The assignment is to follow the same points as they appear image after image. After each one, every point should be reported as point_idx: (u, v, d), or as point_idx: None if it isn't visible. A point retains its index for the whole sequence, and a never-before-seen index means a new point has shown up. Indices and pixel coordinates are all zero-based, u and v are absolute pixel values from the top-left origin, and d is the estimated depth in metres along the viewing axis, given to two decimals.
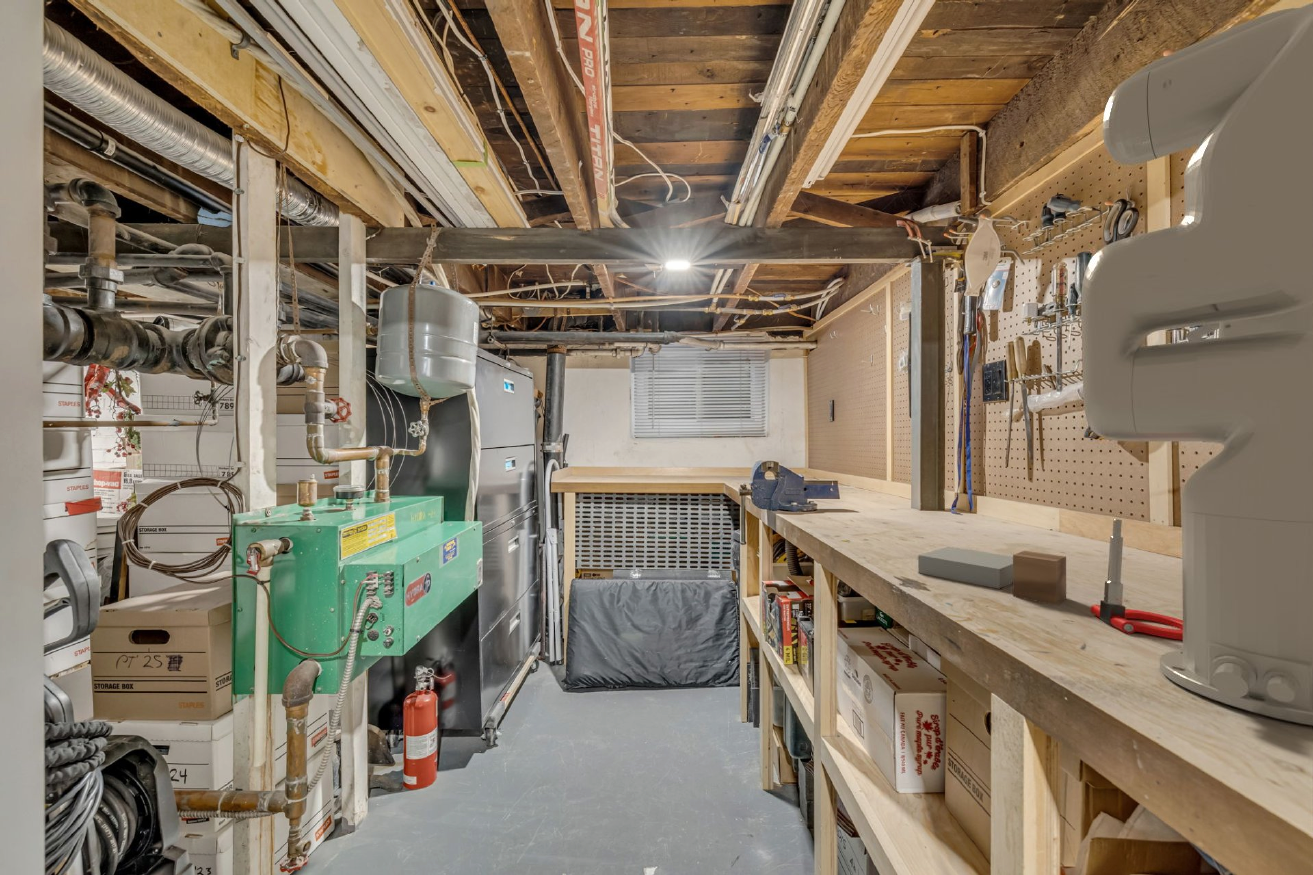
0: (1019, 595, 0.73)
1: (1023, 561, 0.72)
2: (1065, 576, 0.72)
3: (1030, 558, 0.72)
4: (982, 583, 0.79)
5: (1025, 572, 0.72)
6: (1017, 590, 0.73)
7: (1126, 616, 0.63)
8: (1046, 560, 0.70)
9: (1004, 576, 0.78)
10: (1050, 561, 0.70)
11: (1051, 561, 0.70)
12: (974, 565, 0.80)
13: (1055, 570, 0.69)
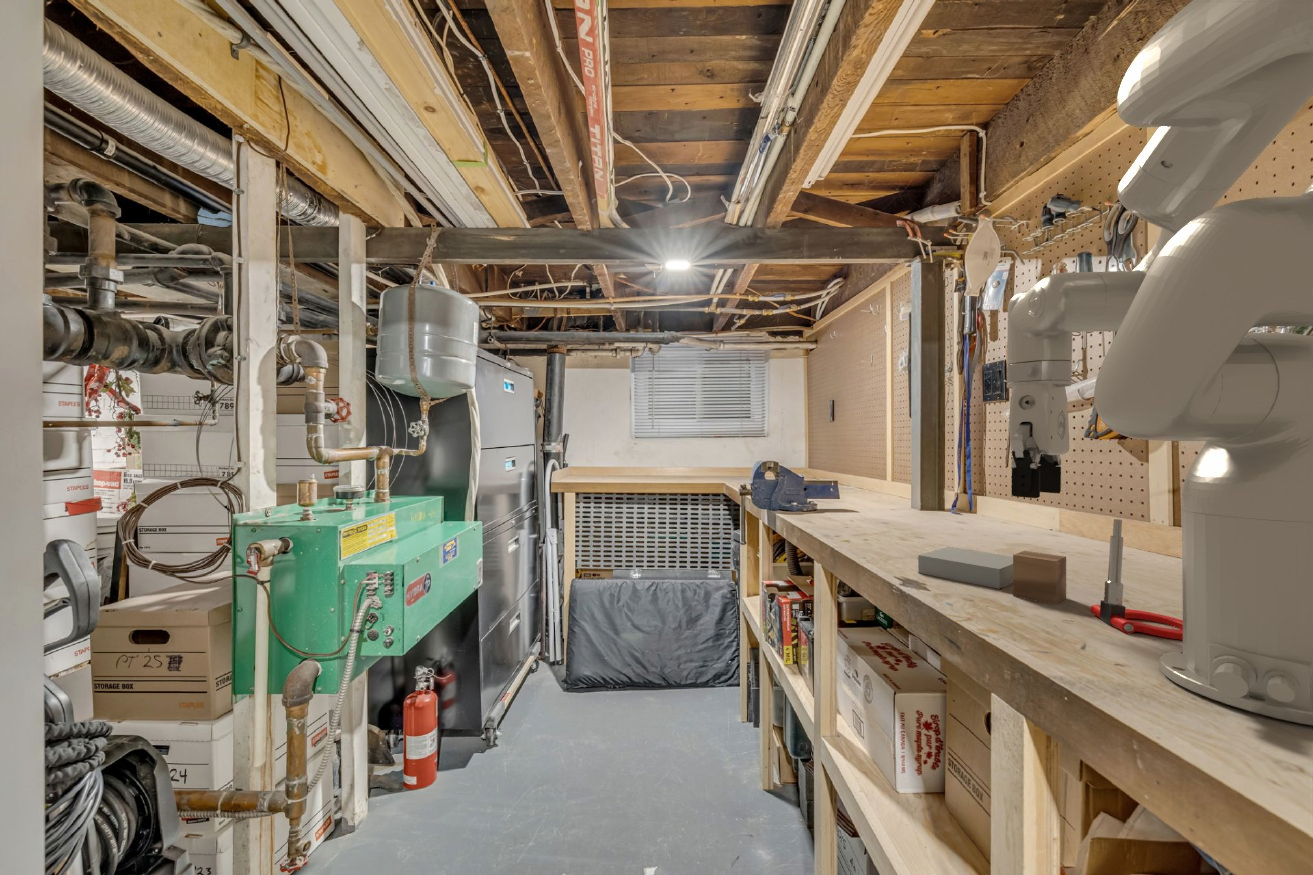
0: (1019, 595, 0.73)
1: (1024, 561, 0.72)
2: (1065, 576, 0.72)
3: (1030, 558, 0.72)
4: (982, 583, 0.79)
5: (1025, 572, 0.72)
6: (1017, 590, 0.73)
7: (1126, 616, 0.63)
8: (1046, 560, 0.70)
9: (1004, 576, 0.78)
10: (1050, 561, 0.70)
11: (1051, 561, 0.70)
12: (974, 565, 0.80)
13: (1056, 570, 0.69)
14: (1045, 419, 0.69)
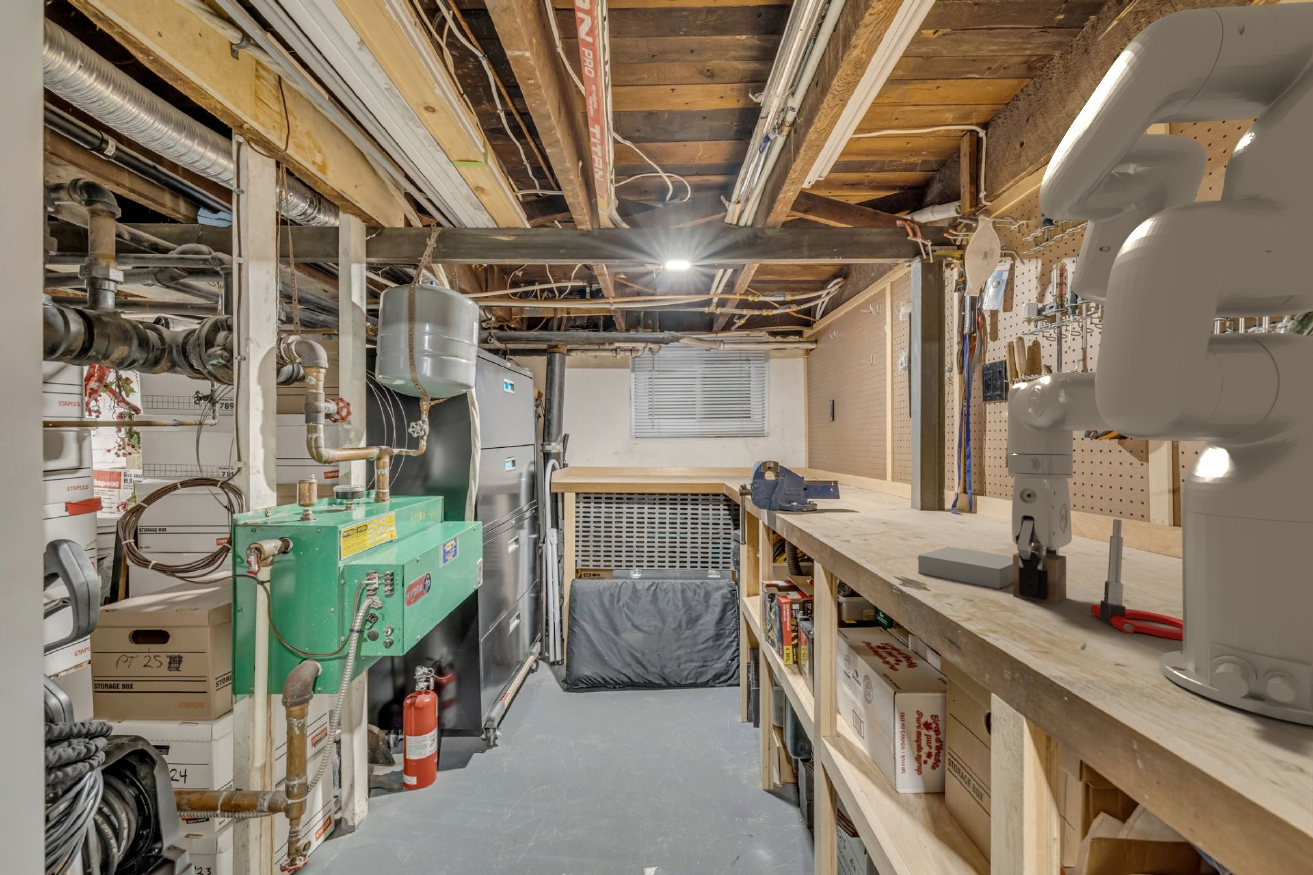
0: (1019, 595, 0.73)
1: None
2: (1065, 576, 0.72)
3: None
4: (982, 583, 0.79)
5: None
6: (1017, 590, 0.73)
7: (1126, 616, 0.63)
8: (1046, 560, 0.70)
9: (1004, 576, 0.78)
10: (1050, 561, 0.70)
11: (1051, 561, 0.70)
12: (974, 565, 0.80)
13: (1055, 569, 0.69)
14: (1047, 515, 0.68)
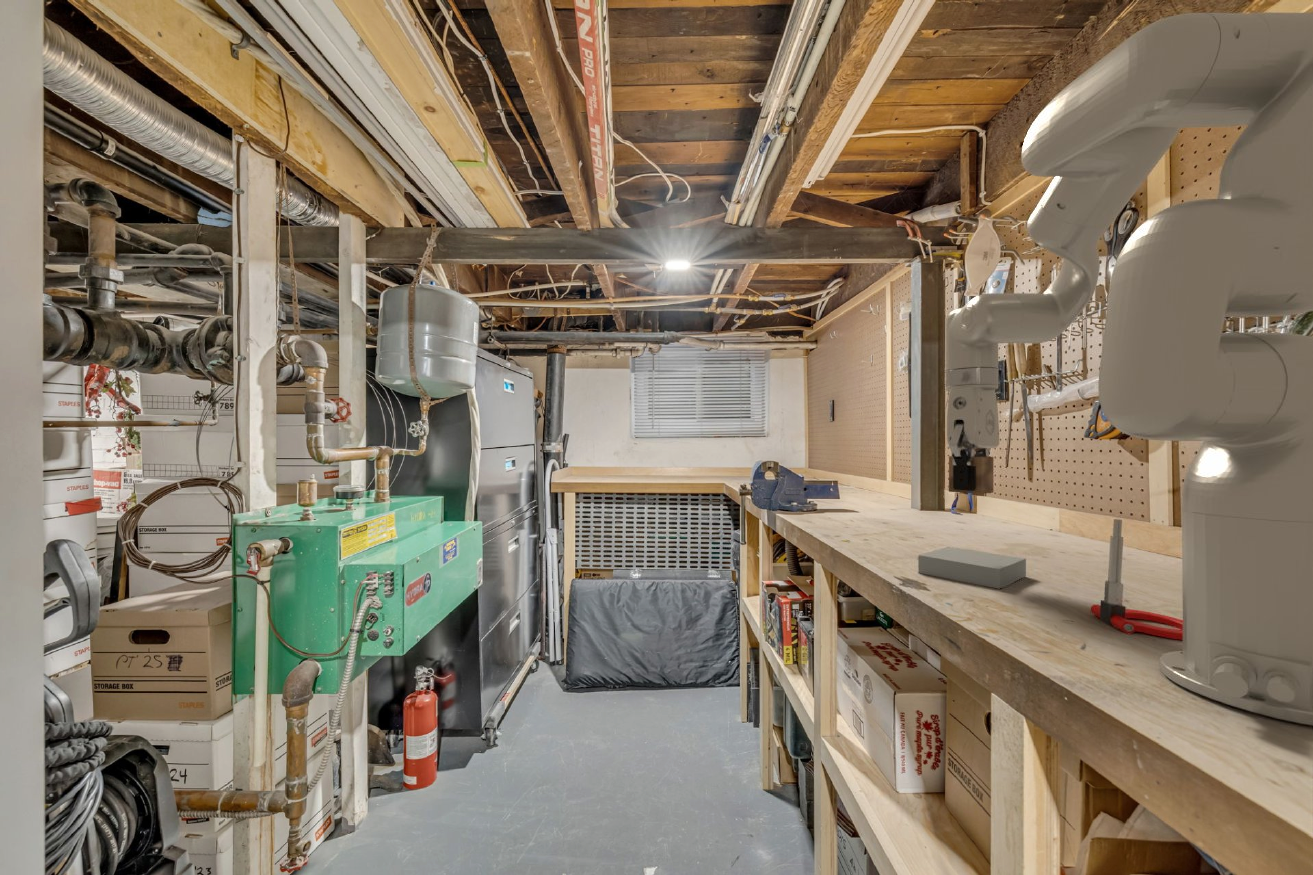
0: (954, 490, 0.85)
1: None
2: (992, 473, 0.85)
3: None
4: (982, 583, 0.79)
5: None
6: (952, 486, 0.86)
7: (1126, 616, 0.63)
8: (974, 457, 0.83)
9: (1004, 576, 0.78)
10: (977, 457, 0.83)
11: (978, 457, 0.82)
12: (974, 565, 0.80)
13: (982, 464, 0.82)
14: (974, 417, 0.81)
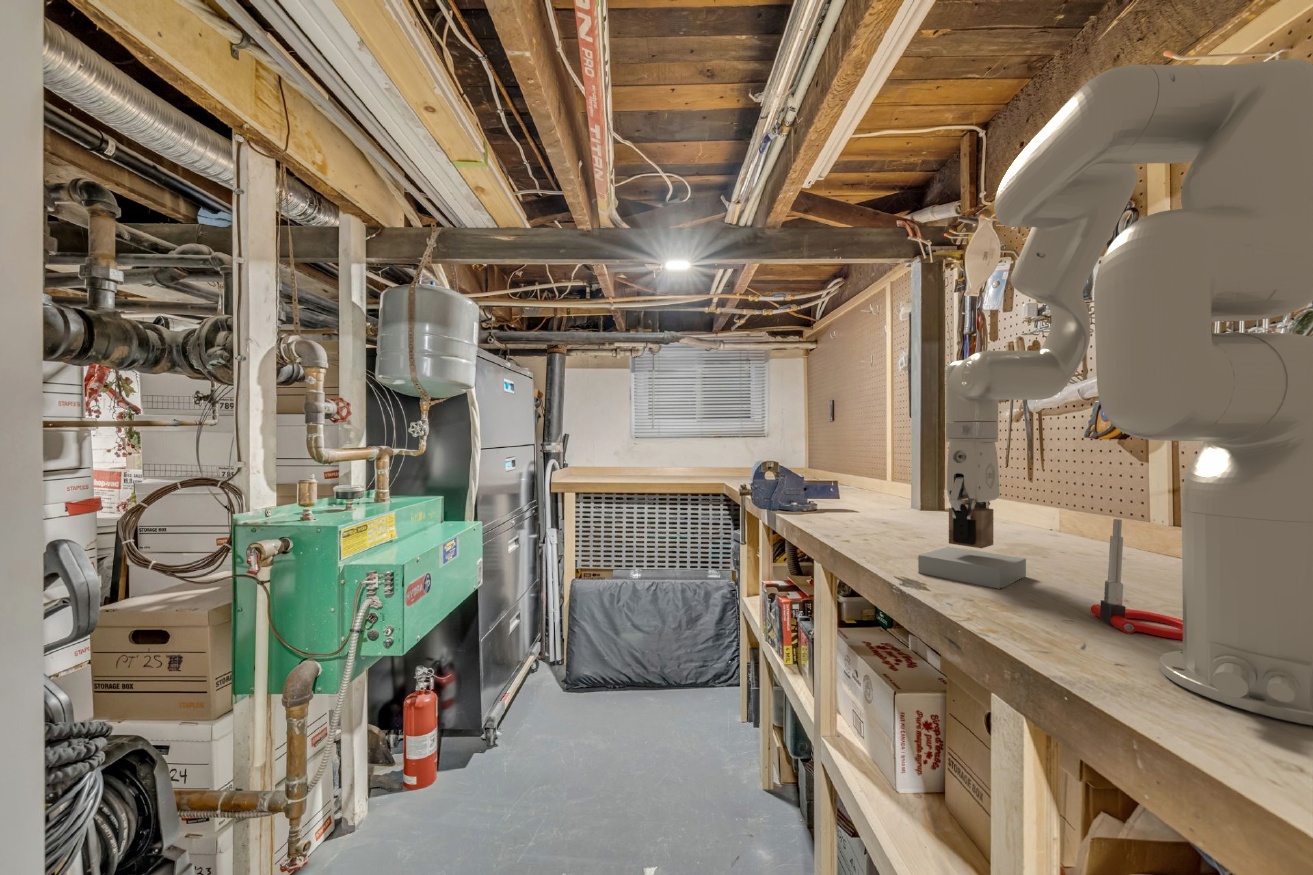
0: (954, 542, 0.85)
1: None
2: (992, 525, 0.85)
3: None
4: (982, 583, 0.79)
5: None
6: (952, 538, 0.85)
7: (1126, 616, 0.63)
8: (974, 511, 0.83)
9: (1004, 576, 0.78)
10: (977, 511, 0.82)
11: (978, 511, 0.82)
12: (974, 565, 0.80)
13: (982, 518, 0.82)
14: (974, 472, 0.81)
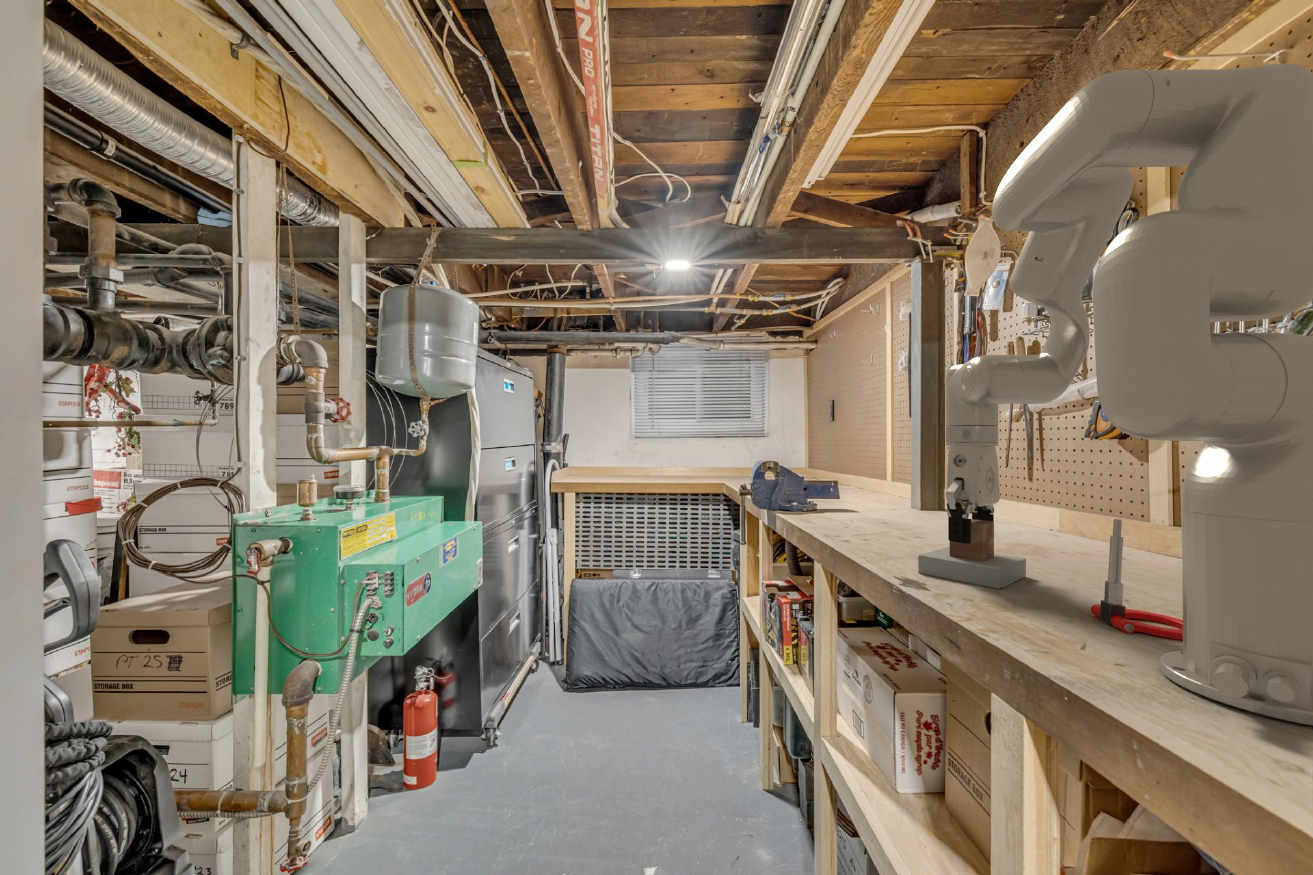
0: (954, 555, 0.85)
1: None
2: (993, 538, 0.85)
3: None
4: (982, 583, 0.79)
5: None
6: (952, 550, 0.85)
7: (1126, 616, 0.63)
8: (975, 524, 0.83)
9: (1004, 576, 0.78)
10: (978, 524, 0.82)
11: (979, 524, 0.82)
12: (974, 565, 0.80)
13: (983, 531, 0.82)
14: (974, 476, 0.81)
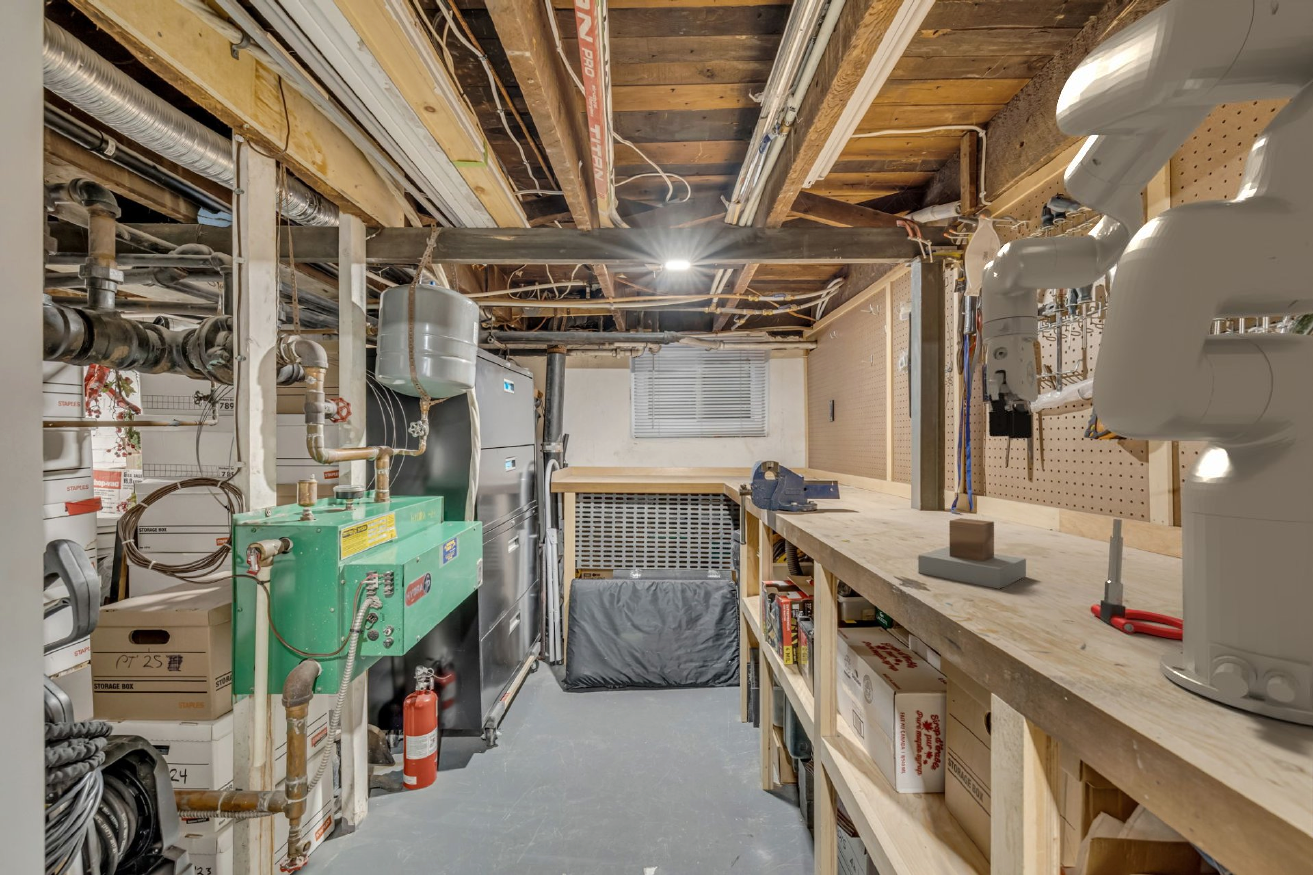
0: (954, 555, 0.85)
1: (958, 526, 0.85)
2: (993, 538, 0.85)
3: (963, 523, 0.84)
4: (982, 583, 0.79)
5: (959, 534, 0.84)
6: (952, 550, 0.85)
7: (1126, 616, 0.63)
8: (975, 524, 0.83)
9: (1004, 576, 0.78)
10: (978, 524, 0.82)
11: (979, 524, 0.82)
12: (974, 565, 0.80)
13: (983, 531, 0.82)
14: (1016, 366, 0.79)
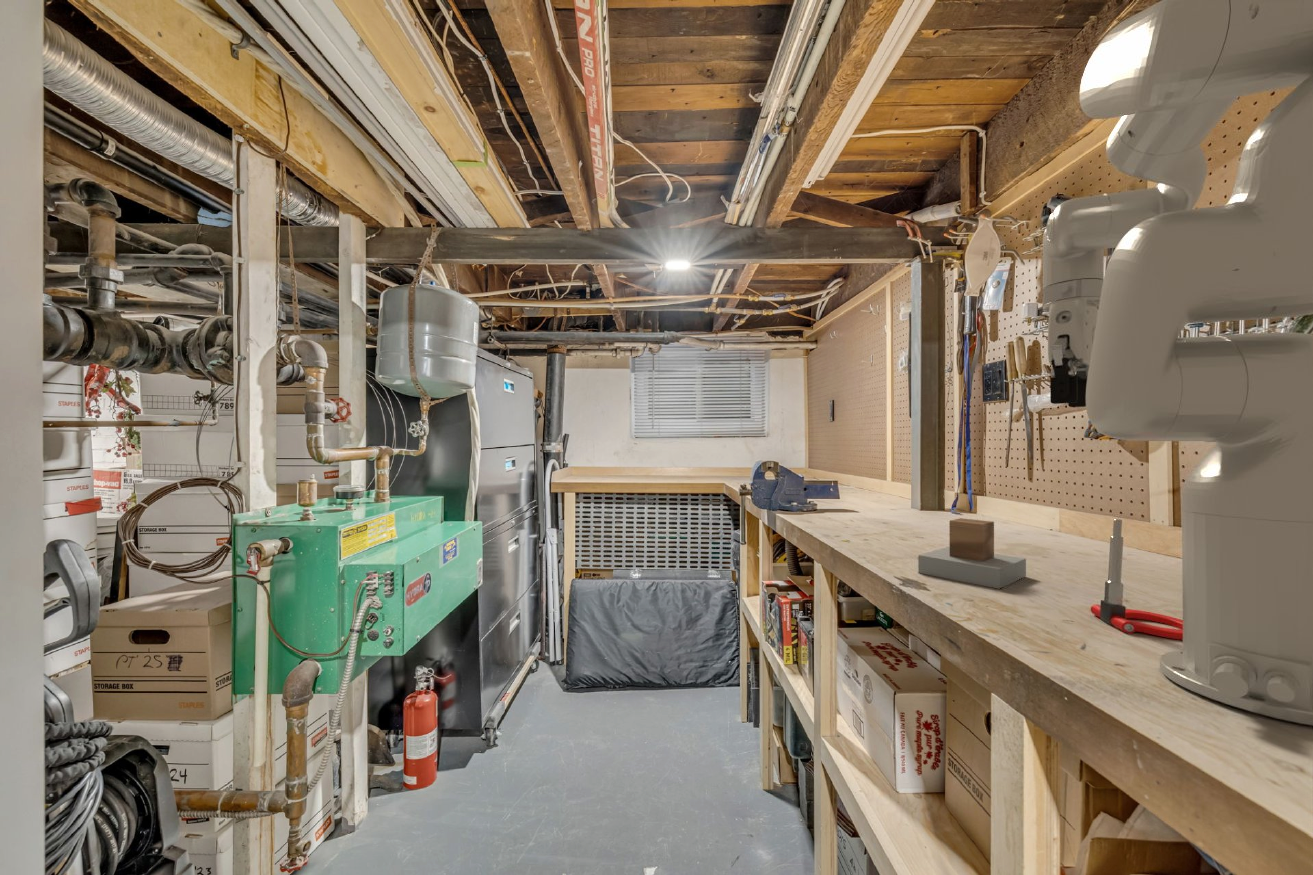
0: (954, 555, 0.85)
1: (958, 526, 0.85)
2: (993, 538, 0.85)
3: (963, 523, 0.84)
4: (982, 583, 0.79)
5: (959, 534, 0.84)
6: (952, 550, 0.85)
7: (1126, 616, 0.63)
8: (975, 524, 0.83)
9: (1004, 576, 0.78)
10: (978, 524, 0.82)
11: (979, 524, 0.82)
12: (974, 565, 0.80)
13: (983, 531, 0.82)
14: (1081, 330, 0.76)
